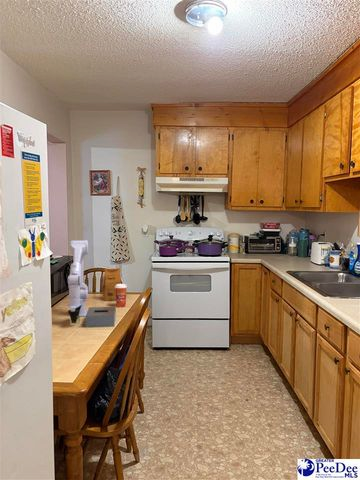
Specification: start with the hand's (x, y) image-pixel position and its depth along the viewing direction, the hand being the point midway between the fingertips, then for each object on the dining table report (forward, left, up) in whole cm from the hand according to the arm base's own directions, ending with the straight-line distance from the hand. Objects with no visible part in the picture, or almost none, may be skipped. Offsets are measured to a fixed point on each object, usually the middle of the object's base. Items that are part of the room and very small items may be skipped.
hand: (75, 320), depth 193 cm
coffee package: (-50, +17, -2) cm, 53 cm away
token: (0, 0, -2) cm, 2 cm away
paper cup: (-32, +24, -2) cm, 40 cm away
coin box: (-1, +14, -1) cm, 14 cm away
